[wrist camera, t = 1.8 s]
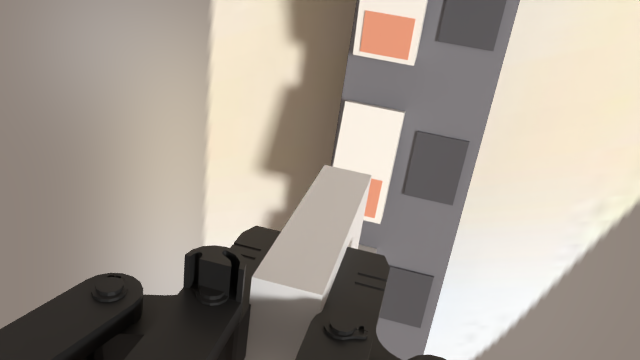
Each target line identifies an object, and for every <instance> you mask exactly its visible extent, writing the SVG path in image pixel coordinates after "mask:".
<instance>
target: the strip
mask: <svg viewBox="0 0 640 360" xmlns="http://www.w3.org/2000/svg"><path fill="white" fill-rule="evenodd" d="M359 2H360V0H357V3H356V9H355V16H354V22H353V29H352V35H351V41H350V48H349V54H348V60H347V67H346V73H345V80H344V86H343V92H342V99H341V105H340V111H339V118H338V124H337V130H336V137H335V143H334V150H333V156H332V162H331V166H332V167H333V163H334V158H335V152H336V147H337V142H338V137H339V132H340V126H341V121H342V116H343V111H344V106H345V101H348V100H350V101H355V102H360V103H365V104H370V105H375V106H380V107H385V108H390V109H395V110H400V111H405V116H404V120H403V125H402V130H401V134H400V139H399V144H398V148H397V153H396V157H395V162H394V167H393V171H392V176H391V181H390V185H389V190H388V194H387V199H386V204H385V208H384V213H383V217H382V220H381V223H380V224H378V223H373V222H369V221H365V220H363V224H362V229H361V234H360V240H359V245H363V246H368V247H372V248H376V249H377V251H376V254H380V255H384V256H385V258H386V260H387V262H388V264H389V267H390V270H389V275H388V279H387V284H386V288H385V293H384V297H383V302H382V306H381V311H380V315H379V319H378V324H377V328H376V334H377V337H378V340H379V341H380V343H381V344H382V345H383V347H385V348H386V349H387V350H388V351H389V352H390V353H392V354H393V355H395V356H396V357H398V358H400V359H401V360H408V359H410V358H412V357H414V356H417V355H423V354H424V350H425V346H426V343H427V339H428V335H429V332H430V328H431V324H432V321H433V317H434V313H435V310H436V306H437V302H438V299H439V295H440V291H441V288H442V284H443V280H444V277H445V273H446V269H447V266H448V262H449V258H450V255H451V251H452V247H453V244H454V240H455V236H456V233H457V229H458V225H459V222H460V218H461V214H462V211H463V207H464V203H465V200H466V196H467V192H468V189H469V185H470V181H471V178H472V174H473V170H474V167H475V163H476V159H477V156H478V152H479V148H480V145H481V141H482V137H483V134H484V130H485V126H486V123H487V119H488V115H489V112H490V108H491V104H492V101H493V97H494V93H495V90H496V86H497V82H498V79H499V75H500V71H501V68H502V64H503V60H504V57H505V53H506V49H507V46H508V42H509V38H510V35H511V31H512V27H513V24H514V20H515V16H516V13H517V9H518V5H519V2H520V0H428V3H427V8H426V13H425V18H424V23H423V28H422V33H421V38H420V43H419V48H418V53H417V58H416V61H415V64H414V66H412V65H406V64H401V63H396V62H390V61H385V60H380V59H374V58H369V57H363V56H358V55H353V49H354V41H355V33H356V25H357V17H358V10H359Z"/></svg>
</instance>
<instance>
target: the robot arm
mask: <svg viewBox="0 0 640 360" xmlns="http://www.w3.org/2000/svg"><path fill="white" fill-rule="evenodd" d="M371 177H372V175H369V174H364V173H360V172H355V171H350V170H346V169H341V168H337V167H332V166H328V165H324V166H323V168H322V170H321V171H320V173H319V174H318V176H317V177H316V179H315V180H314V182H313V183H312V185H311V186H310V188H309V190H308V191H307V193H306V194H305V196H304V197H303V199H302V200H301V202H300V203H299V205H298V207H297V208H296V210H295V211H294V213H293V214H292V216H291V217H290V219H289V220H288V222H287V223H286V225H285V227H284V228H283V230H282V231H281V232H280V231H276V230H272V229H267V228H263V227H259V226H255V227H253V228H251V229H249V230H247V231H245V232H243V233H241V235H240V236H239V237H238V239H237V240H236V241H235V242H234V245H232V246H231V248H227V247H222V246H202V247H199V248H196V249H193V250H191V251H190V252H188V253H187V254H186V255H185V265H184V266H185V267H184V287H183V289H182V290H181V291H180V292H179V294H178V295H167V296H163V295H143V288H142V285H141V283H140V282H139V281H138V280H137V279H136V278H134V277H132V276H129V275H126V274H122V273H107V274H102V275H97V276H94V277H92V278H90V279H87V280H85V281H84V282H82V283H80V284H78V285H76V286H75V287H73V288H71V289H69V290H68V291H66V292H64V293H63V294H61V295H59V296H57V297H56V298H54V299H52V300H50V301H49V302H47V303H45V304H43V305H42V306H40V307H38V308H36V309H35V310H33V311H31V312H29V313H28V314H26V315H24V316H23V317H21V318H19V319H17V320H16V321H14V322H12V323H10V324H8V325H7V326H5V327H3V328H2V329H0V360H401V359H400V358H398V357H396V356H395V355H393V354H392V353H390V352H389V351H388V350H387V349H386V348H385V347H383V345H382V344H381V343H380V341H379V340H378V337H377V334H376V328H377V324H378V319H379V315H380V311H381V306H382V302H383V297H384V293H385V288H386V284H387V279H388V275H389V270H390V267H389V264H388V262H387V260H386V258H385V256H384V255H380V254H376V253H372V252H368V251H364V250H359V249H358V245H359V240H360V234H361V229H362V224H363V219H364V214H365V208H366V203H367V198H368V193H369V187H370V182H371ZM408 360H446V359H444V358H441V357H437V356H433V355H417V356H414V357H412V358H410V359H408Z"/></svg>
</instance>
